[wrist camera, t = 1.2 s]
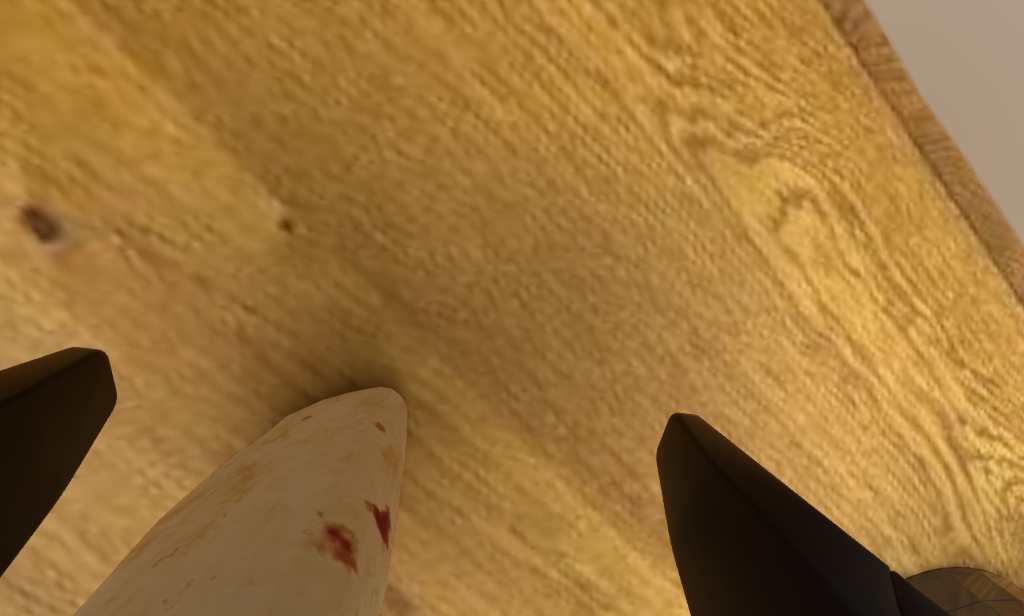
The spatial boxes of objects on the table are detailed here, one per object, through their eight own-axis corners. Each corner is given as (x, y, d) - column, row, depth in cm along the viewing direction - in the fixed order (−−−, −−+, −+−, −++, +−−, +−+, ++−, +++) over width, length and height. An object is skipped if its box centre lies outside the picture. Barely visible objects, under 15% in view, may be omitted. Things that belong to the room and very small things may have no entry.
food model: (364, 333, 24) (-79, 897, 5) (455, 438, 26) (411, 1213, 6) (202, 459, 25) (-801, 1433, 5) (300, 555, 26) (-201, 1608, 7)
